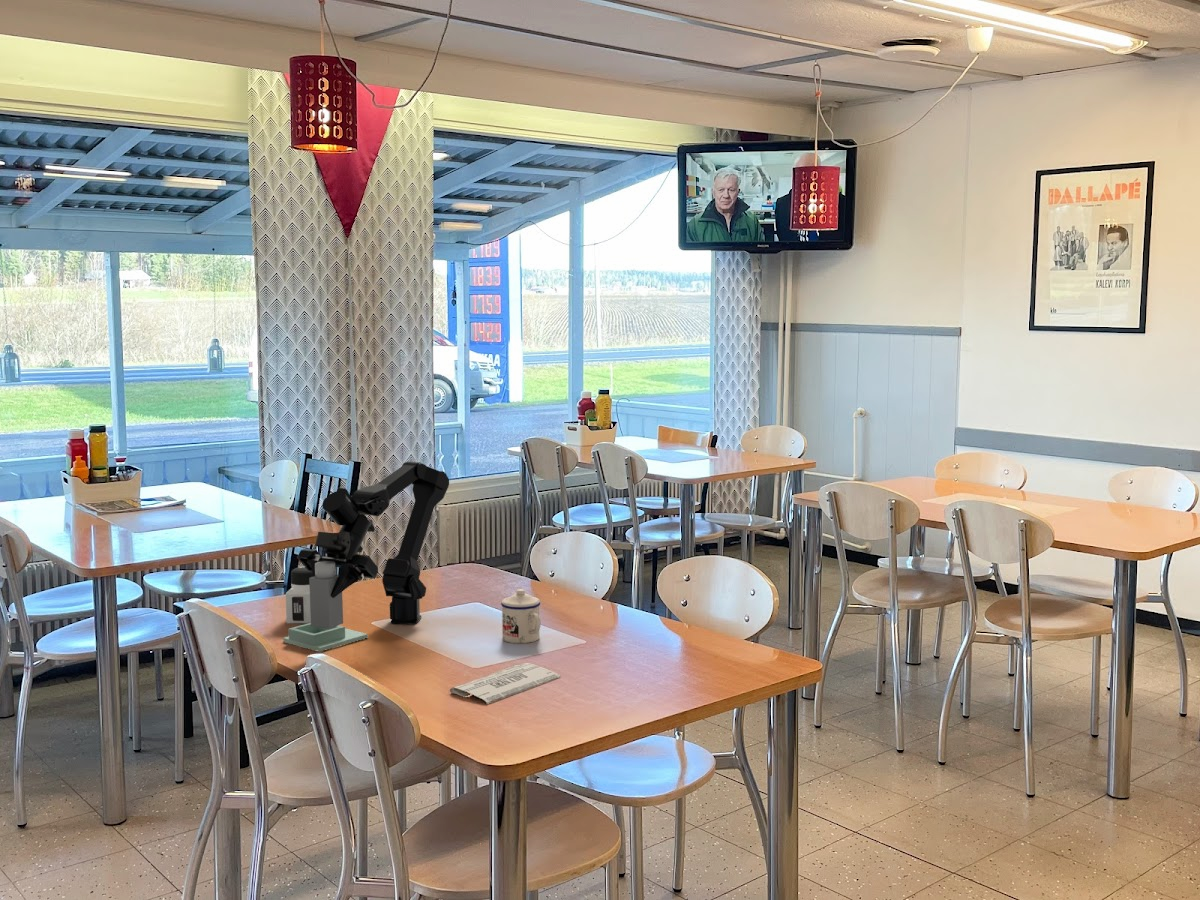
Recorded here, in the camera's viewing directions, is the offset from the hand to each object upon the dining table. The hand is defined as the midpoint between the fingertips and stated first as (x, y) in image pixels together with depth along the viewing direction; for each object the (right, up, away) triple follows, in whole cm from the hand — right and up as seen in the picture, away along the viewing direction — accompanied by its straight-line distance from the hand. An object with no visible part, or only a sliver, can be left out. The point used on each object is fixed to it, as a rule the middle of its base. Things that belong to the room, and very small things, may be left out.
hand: (322, 595), depth 256 cm
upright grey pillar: (+1, -7, +2) cm, 7 cm away
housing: (-2, -12, +13) cm, 18 cm away
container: (-11, -10, +31) cm, 34 cm away
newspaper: (+41, -17, -19) cm, 48 cm away
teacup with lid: (+44, -12, +13) cm, 47 cm away
